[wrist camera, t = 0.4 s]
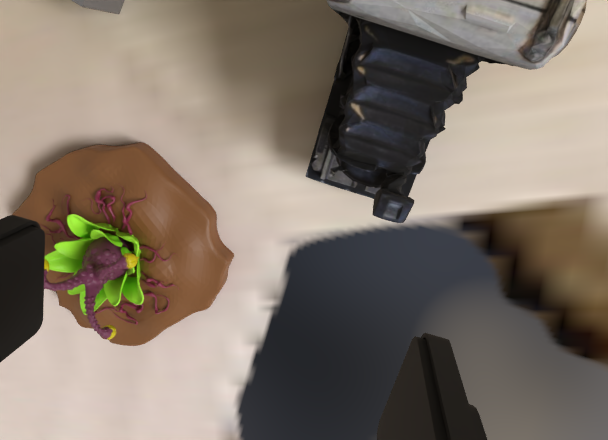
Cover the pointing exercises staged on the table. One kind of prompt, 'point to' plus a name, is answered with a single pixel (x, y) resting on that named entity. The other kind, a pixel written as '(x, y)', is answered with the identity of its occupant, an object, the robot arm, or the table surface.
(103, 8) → the grey hollow block
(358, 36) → the vintage camera
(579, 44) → the table surface
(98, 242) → the plant
